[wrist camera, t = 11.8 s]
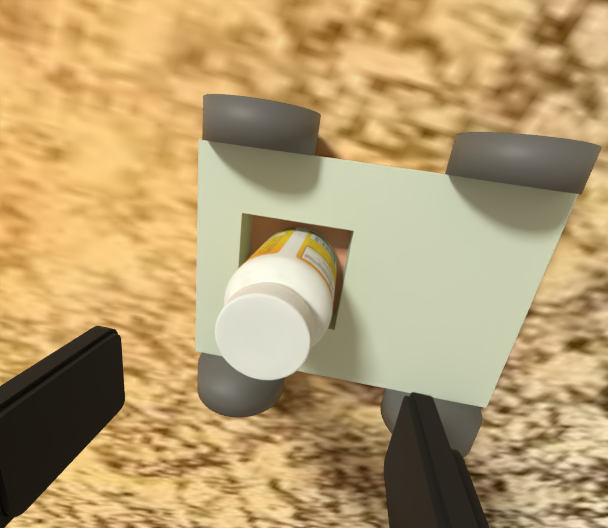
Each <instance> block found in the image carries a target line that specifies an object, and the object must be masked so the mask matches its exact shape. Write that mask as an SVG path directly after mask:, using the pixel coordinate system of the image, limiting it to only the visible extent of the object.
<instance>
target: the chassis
mask: <svg viewBox="0 0 608 528" xmlns="http://www.w3.org/2000/svg"><path fill="white" fill-rule="evenodd" d="M320 117H321V115H320V114H319V113H317V112H315V111H312V110H309V109H306V108H302V107H299V106H295V105H290V104H286V103H281V102H276V101H271V100H265V99H259V98H252V97H245V96H236V95H225V94H207V95H204V96H203V137H202V139H199V157H198V219H197V282H196V344H195V351H198V352H202V353H201V355H200V357H199V360H198V395H199V397H200V399H201V401H202V402H203V403H204V405H205V406H206V407H208V408H209V409H210V410H212V411H214V412H216V413H218V414H221V415H224V416H229V417H248V416H253V415H257V414H260V413H262V412H264V411H266V410H268V409H269V408H271V407H272V406H273V405H274V404H275V403H276V402H277V401H278V400H279V398H280V396H281V394H282V391H283V385H284V378H281V379H276V380H260V379H255V378H251V377H248V376H246V375H244V374H242V373H240V372H239V371H237V370H236V369H234V368H233V367H232V366H231V365H230V364H229V363H228V362H227V361H226V360H225V359H224V358H223V356H222V355H221V353H220V351H219V348H218V346H217V343H216V339H215V325H216V321H217V318H218V316H219V313H220V312H221V310H222V309H223V307H224V297H225V291H226V288H227V285H228V283H229V281H230V279H231V277H232V276H233V274H234V273H235V272H236V271H237V269H238V268H239V267H240V266H241V265H242V264H244V263H245V262H246V261H247V260H248V259H249V258H250V257H251V256H252V255H253V254H254V253H255V252H256V251H257V250H258V249H259V248H260V247H261V246H262V245H263V244H264V243H265V242H266V241H267V240H268V239H269V238H270V237H271V236H273V235H274V234H275V233H277V232H279V231H281V230H283V229H286V228H291V227H303V228H307V229H310V230H313V231H315V232H317V233H319V234H320V235H322V236H323V237H324V238H325V239H326V240H327V241H328V242H329V244H330V245H331V247H332V249H333V250H334V253H335V256H336V260H337V274H336V283H335V292H334V301H333V310H332V317H331V321H330V324H329V327H328V329H327V331H326V332H325V334H324V336H323V337H322V338H321V339H320V341H319V342H318V343H316V344H315V345H314V346H313V347H311V349H310V352H309V355H308V357H307V359H306V361H305V362H304V364H303V365H302V366H301V367H300V368H299V369H298V370H297V371H300V372H305V373H310V374H315V375H321V376H326V377H331V378H336V379H341V380H346V381H351V382H356V383H361V384H366V385H372V386H377V387H382V388H385V391H384V394H383V398H382V402H381V415H382V418H383V420H384V422H385V424H386V426H387V428H388V429H389V430H390V432H391V433H392V434H393V430H394V427H395V424H396V420H397V417H398V414H399V410H400V407H401V404H402V400H403V398H404V396H405V395H406V396H410V394H411V393H412V392H416V393H421V394H425V395H430V396H432V397H433V399H434V402H435V405H436V408H437V410H438V413H439V416H440V419H441V422H442V425H443V428H444V430H445V433H446V436H447V439H448V442H449V445H450V448H451V449H454V450H458V451H459V452H460V453H461V455H462V457H465V456H466V455H467V454H468V453H469V451H470V449H471V447H472V445H473V442H474V440H475V438H476V436H477V433H478V431H479V429H480V426H481V424H482V415H481V411H480V409H479V407H484V408H486V407H487V405H488V403H489V400H490V398H491V396H492V393H493V391H494V389H495V386H496V384H497V382H498V379H499V377H500V375H501V372H502V370H503V368H504V366H505V363H506V361H507V359H508V356H509V354H510V352H511V349H512V347H513V345H514V342H515V340H516V338H517V335H518V333H519V331H520V328H521V326H522V324H523V322H524V319H525V317H526V315H527V312H528V310H529V308H530V305H531V303H532V301H533V298H534V296H535V294H536V291H537V289H538V287H539V284H540V282H541V280H542V278H543V275H544V273H545V271H546V268H547V266H548V264H549V261H550V259H551V257H552V254H553V252H554V250H555V247H556V245H557V243H558V240H559V238H560V236H561V233H562V231H563V229H564V227H565V224H566V222H567V220H568V217H569V215H570V213H571V210H572V208H573V206H574V203H575V201H576V199H577V196H578V194H582V192H583V190H584V187H585V185H586V183H587V180H588V178H589V176H590V174H591V171H592V169H593V167H594V164H595V162H596V160H597V157H598V155H599V153H600V151H601V148H602V147H601V146H599V145H596V144H592V143H588V142H583V141H577V140H571V139H564V138H556V137H547V136H538V135H526V134H513V133H493V132H468V133H459V134H457V135H456V137H455V141H454V144H453V148H452V152H451V155H450V159H449V162H448V166H447V169H446V173H445V174H442V173H435V172H428V171H421V170H414V169H407V168H400V167H393V166H386V165H379V164H372V163H365V162H358V161H351V160H344V159H337V158H330V157H323V156H316V155H315V153H316V146H317V139H318V131H319V124H320ZM478 406H479V407H478Z"/></svg>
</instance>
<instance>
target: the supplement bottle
mask: <svg viewBox="0 0 608 528" xmlns="http://www.w3.org/2000/svg"><path fill="white" fill-rule="evenodd" d="M336 274H337V260H336V256H335V253H334V250H333V249H332V247H331V245H330V244H329V242H328V241H327V240H326V239H325V238H324V237H323V236H322V235H320V234H319V233H317V232H315V231H313V230H310V229H307V228H303V227H291V228H286V229H283V230H281V231H279V232H277V233H275V234H274V235H273V236H271V237H270V238H269V239H268V240H267V241H266V242H265V243H264V244H263V245H262V246H261V247H260V248H259V249H258V250H257V251H256V252H255V253H254V254H253V255H252V256H251V257H250V258H249V259H248V260H247V261H246V262H245V263H244V264H242V265H241V266H240V267H239V268H238V269H237V271H236V272H235V273H234V274H233V276H232V277H231V279H230V281H229V283H228V285H227V288H226V291H225V297H224V307H223V309H222V310H221V312H220V313H219V316H218V318H217V321H216V325H215V339H216V343H217V346H218V348H219V351H220V353H221V355H222V356H223V358H224V359H225V360H226V361H227V362H228V363H229V364H230V365H231V366H232V367H233V368H234V369H236V370H237V371H239V372H240V373H242V374H244V375H246V376H248V377H251V378H255V379H260V380H276V379H281V378H284V377H287V376H289V375H291V374H293V373H294V372H296V371H297V370H298V369H299V368H300V367H301V366H302V365H303V364H304V362H305V361H306V359H307V357H308V355H309V352H310V349H311V347H313V346H314V345H315V344H316V343H318V342H319V341H320V339H321V338H322V337H323V336H324V334H325V332H326V331H327V329H328V327H329V324H330V321H331V317H332V310H333V301H334V292H335V283H336Z"/></svg>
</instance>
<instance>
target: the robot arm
mask: <svg viewBox="0 0 608 528" xmlns="http://www.w3.org/2000/svg"><path fill="white" fill-rule="evenodd" d="M124 401H125V391H124V376H123V361H122V345H121V337H120V335H118V333H117V331H116V330H115V329H111V328H107V327H102V326H95V327H93V328H91V329H90V330H88V331H87V332H85V333H84V334H82V335H80V336H79V337H77V338H76V339H74V340H73V341H71V342H69V343H68V344H66V345H65V346H63V347H61V348H60V349H58V350H57V351H55V352H54V353H52V354H50V355H49V356H47V357H46V358H44V359H42V360H41V361H39V362H38V363H36V364H35V365H33V366H31V367H30V368H28V369H27V370H25V371H23V372H22V373H20V374H19V375H17V376H16V377H14V378H12V379H11V380H9V381H8V382H6V383H4V384H3V385H1V386H0V528H4V527H5V526H6V525H7V524H8V523H9V522H10V521H11V520H12V519H13V518H14V517H17V516H19V515H21V514H22V513H24V512H25V511H26V510H27V509H28V508H29V507H30V506H31V505H32V504H33V502H34V501H35V500H36V499H37V498H38V497H39V496H40V495H41V494H42V493H43V492H44V491H45V490H46V489H47V488H48V486H49V485H50V484H51V483H52V482H53V481H54V480H55V479H56V478H57V477H58V476H59V475H60V474H61V473H62V472H63V471H64V469H65V468H66V467H67V466H68V465H69V464H70V463H71V462H72V461H73V460H74V459H75V458H76V457H77V456H78V455H79V453H80V452H81V451H82V450H83V449H84V448H85V447H86V446H87V445H88V444H89V443H90V442H91V441H92V440H93V439H94V438H95V436H96V435H97V434H98V433H99V432H100V431H101V430H102V429H103V428H104V427H105V426H106V425H107V424H108V423H109V422H110V421H111V419H112V418H113V417H114V416H115V415H116V414H117V413H118V412H119V411H120V410H121V408H122V407H123V404H124ZM384 479H385V488H386V498H387V507H388V517H389V526H390V528H489V525H488V523H487V520H486V518H485V515H484V512H483V510H482V507H481V504H480V502H479V499H478V496H477V494H476V491H475V489H474V486H473V483H472V481H471V478H470V475H469V473H468V470H467V467H466V465H465V462H464V460H463V457H462V455H461V453H460V452H459V451H458V450H454V449H451V448H450V445H449V442H448V439H447V436H446V433H445V430H444V428H443V425H442V422H441V419H440V416H439V413H438V410H437V408H436V405H435V402H434V399H433V397H432V396H430V395H425V394H421V393H416V392H412V393H411V394H410V396H406V395H405V396H404V398H403V400H402V404H401V407H400V410H399V414H398V417H397V420H396V424H395V427H394V430H393V434H392V437H391V440H390V444H389V447H388V450H387V454H386V457H385V461H384Z"/></svg>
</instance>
